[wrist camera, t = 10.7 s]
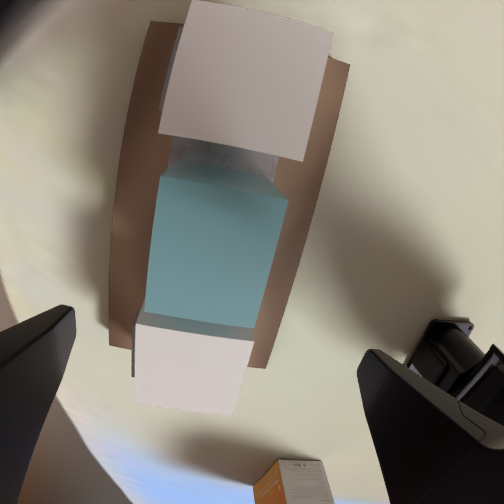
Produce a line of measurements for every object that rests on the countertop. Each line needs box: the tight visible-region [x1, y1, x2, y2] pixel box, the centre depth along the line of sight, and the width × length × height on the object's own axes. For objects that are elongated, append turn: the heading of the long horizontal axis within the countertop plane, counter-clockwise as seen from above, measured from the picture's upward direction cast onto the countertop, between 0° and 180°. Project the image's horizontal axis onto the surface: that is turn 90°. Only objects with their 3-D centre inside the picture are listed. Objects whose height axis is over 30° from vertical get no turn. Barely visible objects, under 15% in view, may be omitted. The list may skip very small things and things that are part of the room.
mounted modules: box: [132, 0, 333, 415], centre depth 16 cm, size 6×21×5 cm, turn 167°
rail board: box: [109, 21, 350, 369], centre depth 20 cm, size 12×22×2 cm, turn 167°
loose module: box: [144, 160, 289, 328], centre depth 16 cm, size 5×6×6 cm
